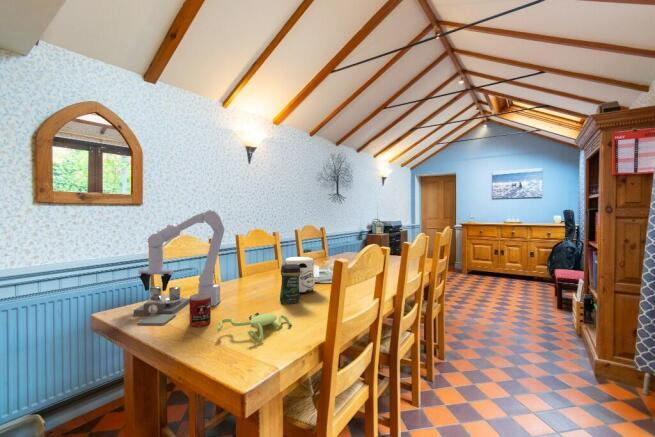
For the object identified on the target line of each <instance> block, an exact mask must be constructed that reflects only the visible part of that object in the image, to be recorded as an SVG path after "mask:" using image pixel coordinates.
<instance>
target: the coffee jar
mask: <svg viewBox="0 0 655 437" xmlns="http://www.w3.org/2000/svg"><path fill="white" fill-rule="evenodd" d="M300 273H301V272H300V266H299V265H298V264H285V263H284V264H281V266H280V275H281V286H280V294H279V302H280V303H281V304H284V305H291V304H298V303H300V300H301V295H300V294H301V293H299V276H300Z"/></svg>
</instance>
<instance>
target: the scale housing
mask: <svg viewBox="0 0 655 437" xmlns="http://www.w3.org/2000/svg"><path fill="white" fill-rule="evenodd" d="M188 305H190V297H189V298H187V297H185V298H183V297H182V300H181V301H178V302H175V303H171V304H166V302H144V303H143V305H140V306H138V307H137V308H135V309H133V316H149V315H151V314H176V313H178V312H179V311H181V310H182V309H184V308H185V307H186V306H188Z"/></svg>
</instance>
